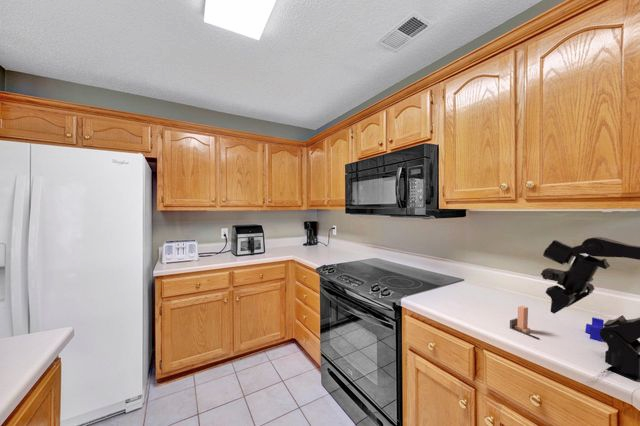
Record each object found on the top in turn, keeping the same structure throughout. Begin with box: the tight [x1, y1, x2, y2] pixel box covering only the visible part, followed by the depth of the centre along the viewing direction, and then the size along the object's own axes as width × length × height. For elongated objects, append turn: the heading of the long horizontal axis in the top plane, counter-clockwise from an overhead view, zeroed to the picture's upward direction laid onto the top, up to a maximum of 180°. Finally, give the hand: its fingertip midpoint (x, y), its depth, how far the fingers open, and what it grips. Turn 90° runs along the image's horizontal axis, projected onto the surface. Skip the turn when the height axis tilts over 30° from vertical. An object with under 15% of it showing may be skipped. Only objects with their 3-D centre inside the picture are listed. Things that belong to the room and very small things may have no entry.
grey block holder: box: [509, 317, 540, 340], centre depth 98 cm, size 10×5×4 cm, turn 24°
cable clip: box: [584, 317, 605, 343], centre depth 97 cm, size 12×4×6 cm, turn 131°
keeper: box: [514, 305, 531, 334], centre depth 100 cm, size 4×3×9 cm
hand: (559, 309), depth 91 cm, fingers open, 9 cm apart
